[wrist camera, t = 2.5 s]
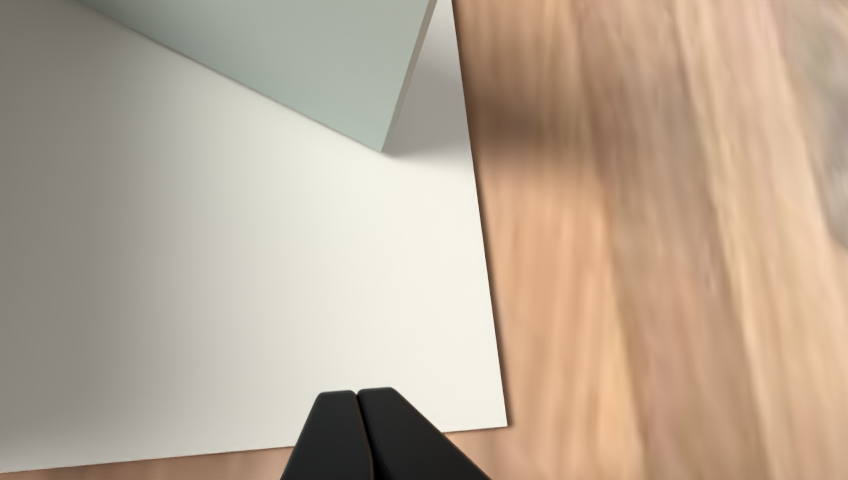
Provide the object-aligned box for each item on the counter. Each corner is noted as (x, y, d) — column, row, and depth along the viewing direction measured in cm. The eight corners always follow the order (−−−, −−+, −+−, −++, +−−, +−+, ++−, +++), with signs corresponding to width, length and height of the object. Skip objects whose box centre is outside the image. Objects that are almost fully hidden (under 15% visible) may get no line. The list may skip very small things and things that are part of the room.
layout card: (504, 427, 22) (508, 425, 22) (-230, 494, 18) (-239, 494, 18) (441, -60, 28) (443, -67, 28) (-136, -90, 24) (-142, -99, 24)
